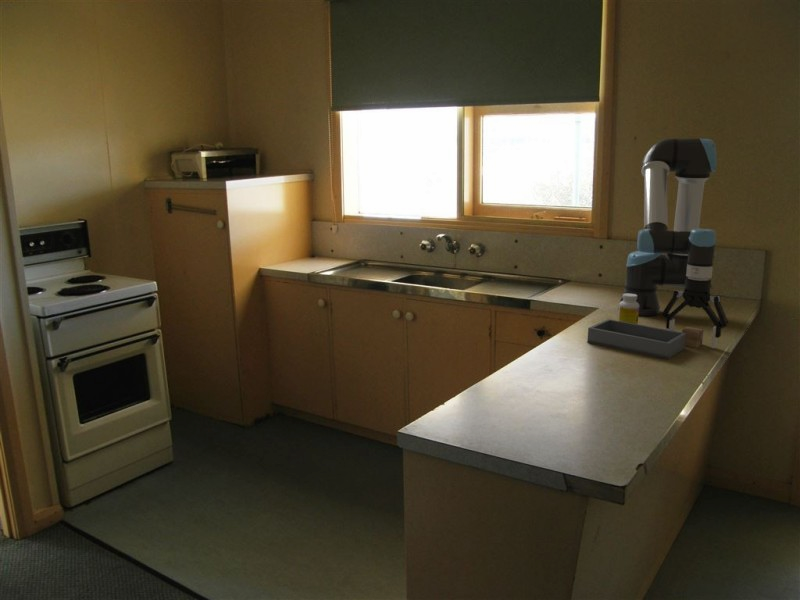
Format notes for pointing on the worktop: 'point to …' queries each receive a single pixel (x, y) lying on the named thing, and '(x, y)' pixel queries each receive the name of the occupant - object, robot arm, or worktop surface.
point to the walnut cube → (693, 336)
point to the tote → (637, 338)
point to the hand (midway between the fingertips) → (691, 342)
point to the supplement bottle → (628, 309)
